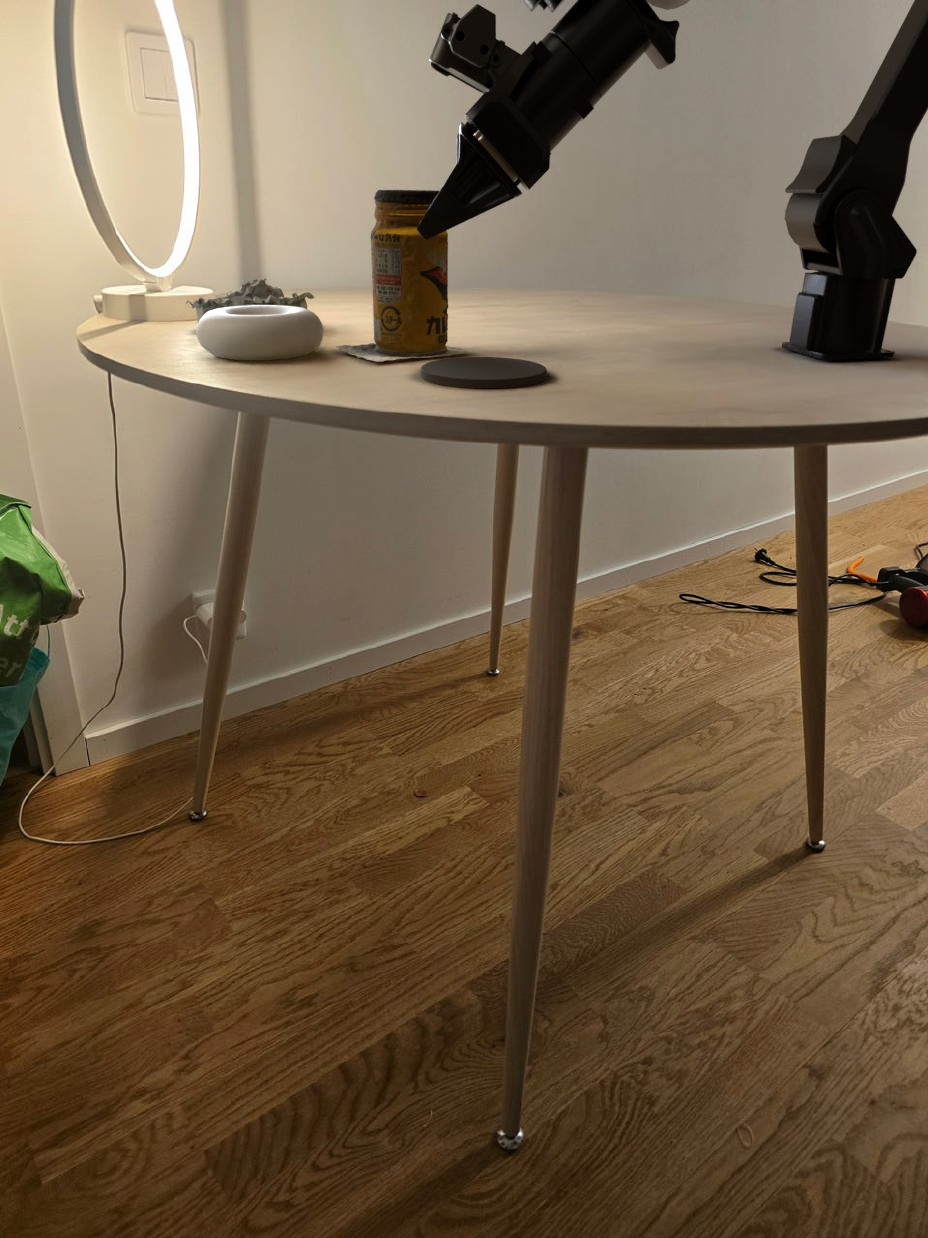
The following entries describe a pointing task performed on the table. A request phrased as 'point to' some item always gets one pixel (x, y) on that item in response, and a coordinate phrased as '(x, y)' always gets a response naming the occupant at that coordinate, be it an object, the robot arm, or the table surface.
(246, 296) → the grey crumpled piece
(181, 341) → the table surface
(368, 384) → the table surface
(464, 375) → the coaster
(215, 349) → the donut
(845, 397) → the table surface
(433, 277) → the condiment
